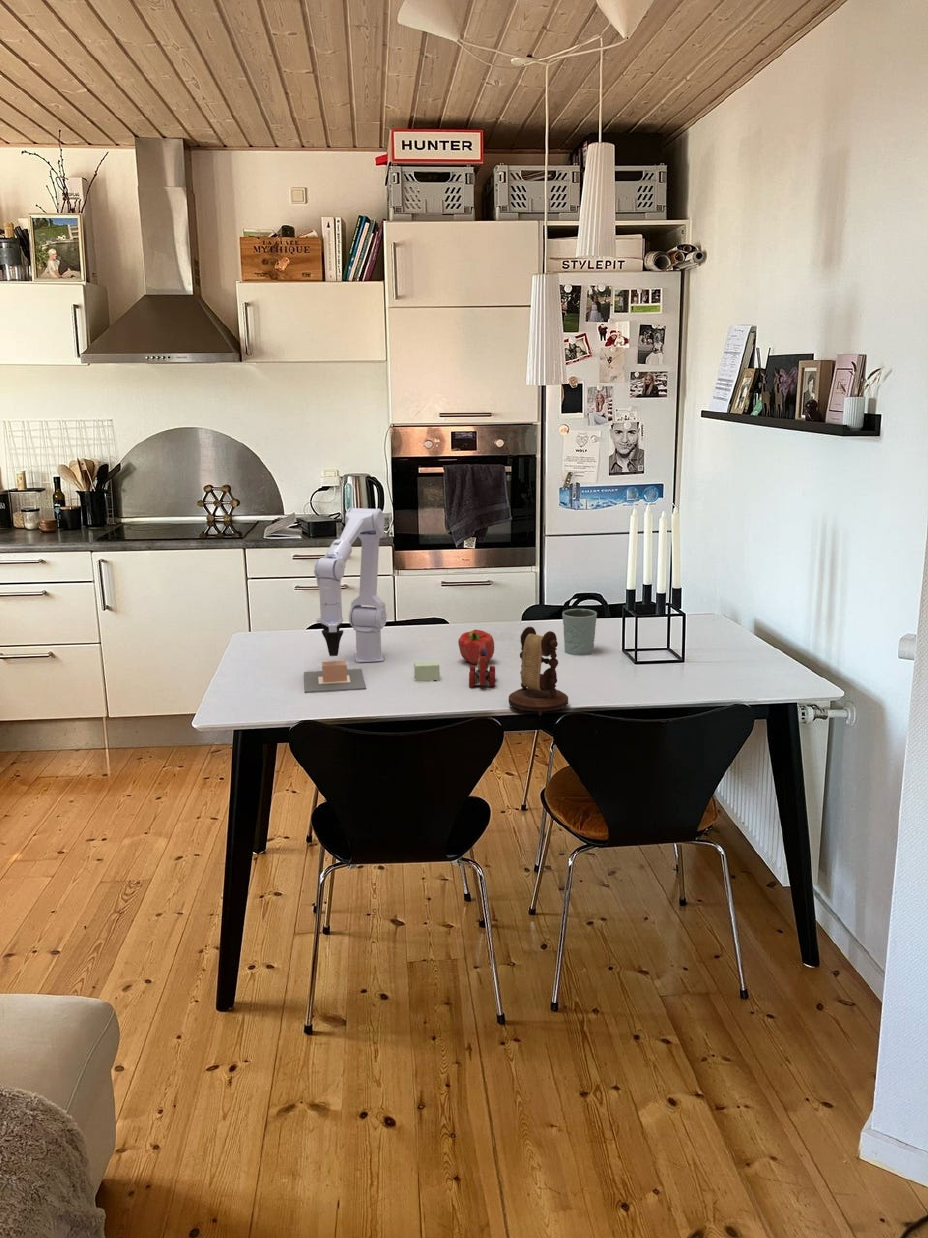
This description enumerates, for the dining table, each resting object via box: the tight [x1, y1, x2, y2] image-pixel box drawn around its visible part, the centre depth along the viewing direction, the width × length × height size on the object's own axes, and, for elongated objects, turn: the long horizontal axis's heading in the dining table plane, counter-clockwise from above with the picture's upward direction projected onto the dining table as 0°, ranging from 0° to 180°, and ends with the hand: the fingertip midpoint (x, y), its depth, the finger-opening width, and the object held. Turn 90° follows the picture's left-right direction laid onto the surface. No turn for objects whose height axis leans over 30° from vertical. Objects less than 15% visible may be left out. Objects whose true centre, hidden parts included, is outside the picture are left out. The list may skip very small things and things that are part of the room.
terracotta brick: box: [321, 660, 348, 682], centre depth 269 cm, size 4×6×4 cm
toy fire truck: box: [468, 642, 496, 687], centre depth 265 cm, size 7×12×10 cm, turn 178°
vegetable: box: [457, 629, 495, 665], centre depth 285 cm, size 11×10×10 cm
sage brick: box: [413, 660, 440, 682], centre depth 270 cm, size 4×6×4 cm
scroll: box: [508, 626, 569, 717], centre depth 245 cm, size 15×15×20 cm
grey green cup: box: [561, 608, 598, 656], centre depth 294 cm, size 10×10×12 cm
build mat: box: [303, 668, 367, 694], centre depth 270 cm, size 18×16×1 cm
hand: (332, 651), depth 268 cm, fingers open, 7 cm apart
